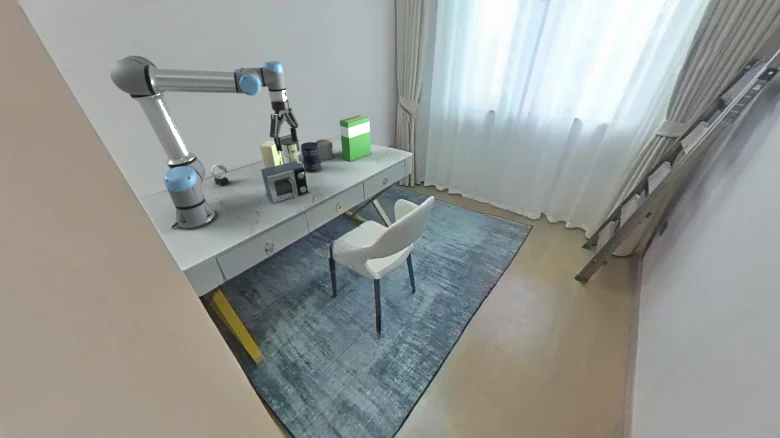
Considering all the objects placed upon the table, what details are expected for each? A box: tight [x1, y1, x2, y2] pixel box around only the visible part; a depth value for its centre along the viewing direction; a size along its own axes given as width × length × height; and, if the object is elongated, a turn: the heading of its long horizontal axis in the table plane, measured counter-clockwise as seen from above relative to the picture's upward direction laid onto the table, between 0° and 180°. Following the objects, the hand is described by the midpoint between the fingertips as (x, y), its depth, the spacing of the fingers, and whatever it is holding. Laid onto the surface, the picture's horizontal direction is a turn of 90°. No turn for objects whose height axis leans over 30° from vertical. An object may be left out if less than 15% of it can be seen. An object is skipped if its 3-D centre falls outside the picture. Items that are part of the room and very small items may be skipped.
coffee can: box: [281, 137, 303, 165], centre depth 192 cm, size 10×10×14 cm
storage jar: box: [300, 141, 322, 174], centre depth 184 cm, size 10×10×15 cm
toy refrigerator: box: [259, 140, 284, 169], centre depth 170 cm, size 8×7×21 cm
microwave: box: [260, 161, 309, 201], centre depth 159 cm, size 11×18×14 cm, turn 125°
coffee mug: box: [315, 138, 334, 161], centre depth 203 cm, size 13×10×10 cm
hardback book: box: [339, 114, 372, 162], centre depth 199 cm, size 18×7×24 cm, turn 138°
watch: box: [209, 163, 230, 187], centre depth 169 cm, size 6×8×11 cm
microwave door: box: [267, 170, 299, 204], centre depth 152 cm, size 8×13×14 cm, turn 125°
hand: (287, 145), depth 153 cm, fingers open, 13 cm apart
